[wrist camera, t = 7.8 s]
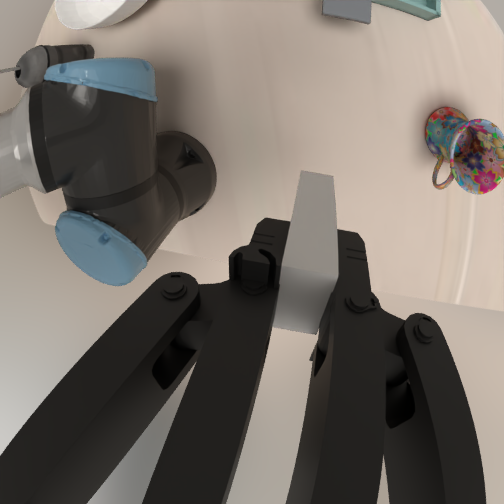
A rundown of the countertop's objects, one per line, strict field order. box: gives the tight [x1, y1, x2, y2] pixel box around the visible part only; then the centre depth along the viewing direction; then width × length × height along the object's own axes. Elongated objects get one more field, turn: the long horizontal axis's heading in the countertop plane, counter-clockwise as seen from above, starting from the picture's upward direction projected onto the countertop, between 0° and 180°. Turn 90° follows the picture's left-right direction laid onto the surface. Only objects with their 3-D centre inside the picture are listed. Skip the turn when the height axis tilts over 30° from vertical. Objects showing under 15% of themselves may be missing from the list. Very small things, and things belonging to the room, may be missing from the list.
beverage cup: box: [0, 45, 94, 88], centre depth 23 cm, size 7×7×20 cm
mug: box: [426, 107, 504, 194], centre depth 25 cm, size 12×9×11 cm
